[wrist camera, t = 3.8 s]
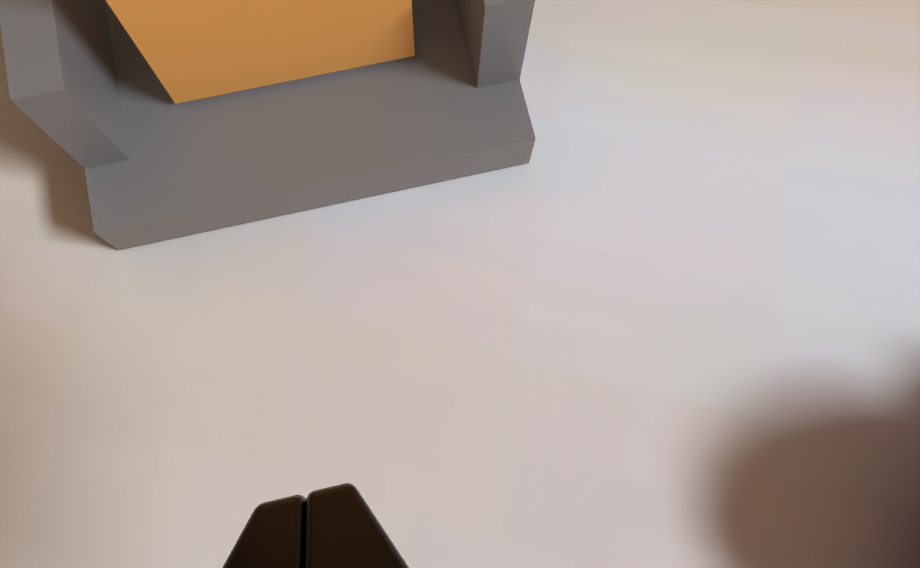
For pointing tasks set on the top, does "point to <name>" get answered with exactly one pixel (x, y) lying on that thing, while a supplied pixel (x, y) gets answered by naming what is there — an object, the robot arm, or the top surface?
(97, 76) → the base
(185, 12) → the breaker toggle
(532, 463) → the top surface
